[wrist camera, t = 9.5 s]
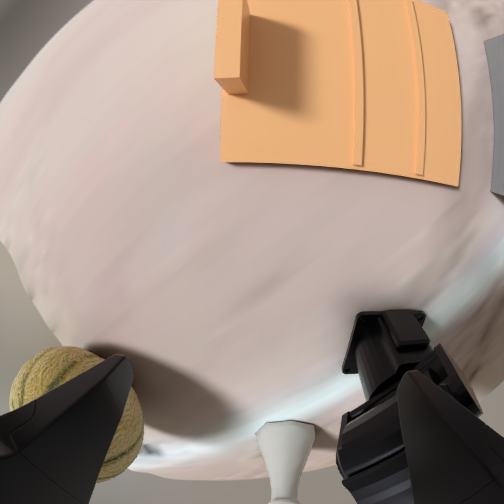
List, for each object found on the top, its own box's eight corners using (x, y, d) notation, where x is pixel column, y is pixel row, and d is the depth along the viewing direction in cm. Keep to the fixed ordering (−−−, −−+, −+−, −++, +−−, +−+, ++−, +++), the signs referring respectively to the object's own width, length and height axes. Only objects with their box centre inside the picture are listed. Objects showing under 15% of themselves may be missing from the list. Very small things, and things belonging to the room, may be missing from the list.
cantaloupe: (103, 411, 29) (61, 489, 15) (39, 329, 25) (-30, 403, 11) (187, 411, 26) (151, 524, 12) (112, 307, 22) (13, 429, 8)
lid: (448, 183, 16) (492, 197, 11) (224, 161, 17) (203, 165, 12) (439, 18, 11) (472, -4, 6) (231, -17, 12) (217, -57, 7)
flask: (308, 447, 28) (310, 512, 18) (252, 445, 28) (245, 511, 19) (323, 419, 25) (330, 496, 16) (257, 416, 26) (249, 496, 16)
